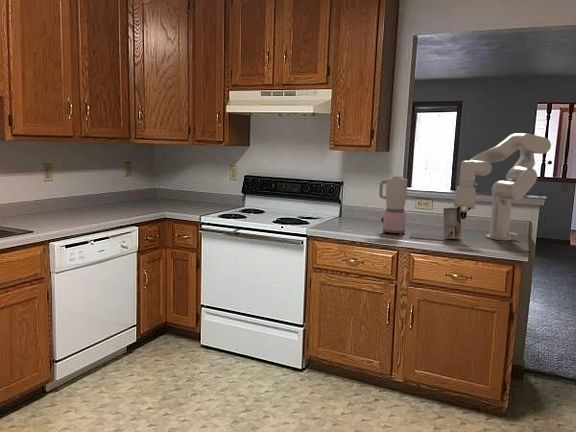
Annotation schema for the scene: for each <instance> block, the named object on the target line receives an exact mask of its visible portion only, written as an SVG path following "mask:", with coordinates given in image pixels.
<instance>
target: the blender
mask: <svg viewBox="0 0 576 432" xmlns="http://www.w3.org/2000/svg"><path fill="white" fill-rule="evenodd" d="M408 181H409V179H407V178H404V177H403V176H402V175H392V177H388V178H386V180H382V181H381V182H380V183H379V198H380V199H383V200H385V202H386V210H385V211H384V212H383V217H381V220H380V222H381V223H383V224H382V233H383V234H386V233H389V234H390V233H391V234H398V235H399V236H402V235H404V234H405V233H406V221H407V216H406V213H405V205H406V202H407V196H408V194H407V193H408ZM384 184H386V187H385V195H383V191H384V190H383V189H384V188H383V187H384Z"/></svg>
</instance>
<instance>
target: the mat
mask: <svg viewBox="0 0 576 432" xmlns="http://www.w3.org/2000/svg"><path fill="white" fill-rule="evenodd" d="M409 239H414V240H415V239H416V240H417V239H418V240H428V241H437V242H438V241H439V242H445V240H446V238H444V234H435V233H422V232H413V231H411V233H410V235H409Z"/></svg>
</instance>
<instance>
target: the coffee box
mask: <svg viewBox="0 0 576 432" xmlns="http://www.w3.org/2000/svg"><path fill="white" fill-rule="evenodd" d="M460 215H461V211H460V210H459V209H458V208H456V207H447V208H446V207H445V208H443V235H444V238H445V239H450V240H451V239H460V238H462V217H460Z"/></svg>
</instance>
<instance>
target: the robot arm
mask: <svg viewBox="0 0 576 432" xmlns="http://www.w3.org/2000/svg"><path fill="white" fill-rule="evenodd" d="M551 147H552V143H551V141H550V139H549V138H547V137H545V136H540V135H535V134H531V133H528V132H527V133H521V132H520V133H519V132H517V133H516V132H515V133H512V134H509V135H508V136H507V137H506V138H505V139H503V140H502V141H501V142H499V143H498V144H496V145H495V146H493V147H491V148H489V149H486V150H483V151H482V152H480V153H477V155H475V156H473V157H472V158H470V159H469V160H462V161H461V163H460V170H459V171H460V172H459V180H458V181H459V182H458V186H456V190H455V194H454V195H455V196H454V203H453V204H454V205H453V208H458V209H459V210H460V211H461V215H460V217H461V220H466V218H467V215H468V214H467V213H468V212H469V211H470V210H473V209H474V210H475V209H476V198H477V197H476V196H477V195H476V194H477V193H476V191H477V190H476V187H475V186H478V182H476V181H475V180H476V175H477V176H483V177H484V176H487V175H490V173H491V172H492V171H493V167H492V164H491V163H498V162H503V161H505V160H506V159H507V158H509V157H511V155H513V154H514V153H515V152H516V151H518V150H519V154H520V155H519V156H520V157H519V158H518V160H517V161H516V162H515V163H514V165H513V166H512V167H511V168H510V169H509V170H508V171H507V173H506V175H505V178H506V180H498V181H495V182H494V183H493V185H492V187H491V196H492V198H491V199H492V206H491V214H490V217H491V218H490V226H489V227H490V228H489V233H488V234H486V238H487V239H490V240H497V241H511V240H512V237H515V238H518V236H519V233H518V232H511V231H510V223H511V212H512V203H511V201H518V200H521V199H523V198H524V197H525V195H526V194H527V193H528V192H529V191H530V189H531V188H532V187H533V186H534V185H535V183H536V182H537V179H538V173H537V171H536V170H535V169H534V167H535V164H536V161H535V160H536V159H535V154H540V155H543V154H544V155H545V154H546V153H548V152H549V151H550V150H551ZM464 207H465V209H464Z"/></svg>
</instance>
